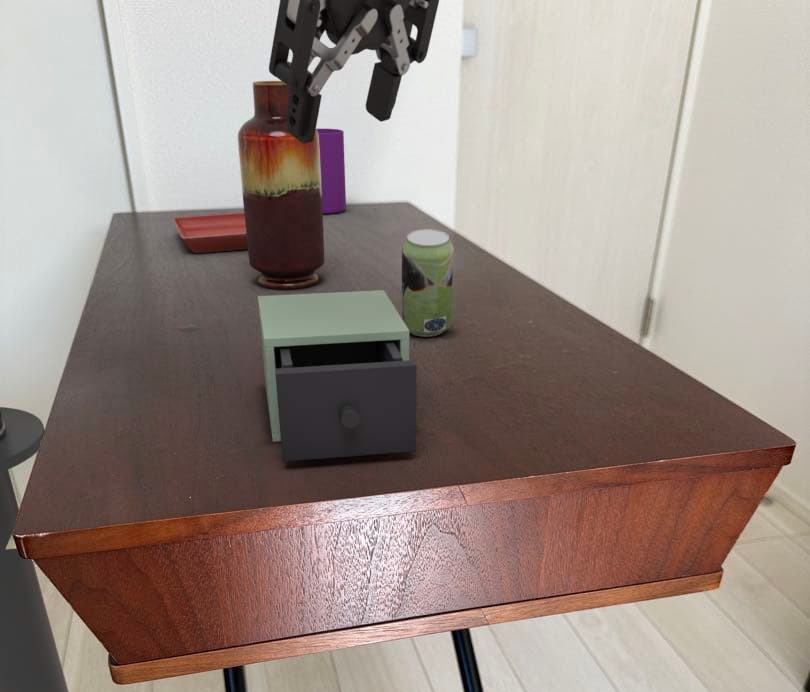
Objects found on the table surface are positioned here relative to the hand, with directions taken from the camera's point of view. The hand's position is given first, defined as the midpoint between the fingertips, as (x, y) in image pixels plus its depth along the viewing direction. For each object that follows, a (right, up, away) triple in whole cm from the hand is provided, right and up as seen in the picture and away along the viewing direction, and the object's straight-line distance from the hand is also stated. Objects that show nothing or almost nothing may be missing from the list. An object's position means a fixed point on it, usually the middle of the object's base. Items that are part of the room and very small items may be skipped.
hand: (339, 126), depth 65 cm
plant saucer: (-25, +20, +82) cm, 89 cm away
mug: (-15, +35, +108) cm, 114 cm away
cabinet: (-2, -19, +17) cm, 26 cm away
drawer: (-1, -22, +11) cm, 25 cm away
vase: (-12, +6, +59) cm, 61 cm away
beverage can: (+8, -7, +38) cm, 40 cm away
